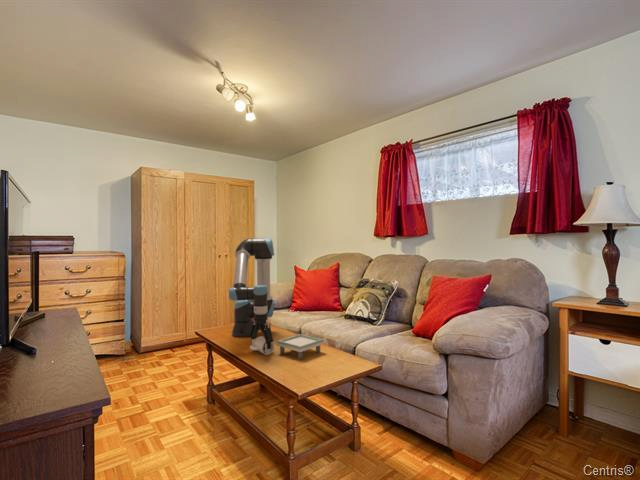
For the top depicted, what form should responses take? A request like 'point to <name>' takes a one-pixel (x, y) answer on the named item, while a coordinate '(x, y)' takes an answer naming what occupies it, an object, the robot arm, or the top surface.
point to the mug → (261, 345)
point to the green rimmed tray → (299, 344)
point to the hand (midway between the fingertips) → (260, 352)
